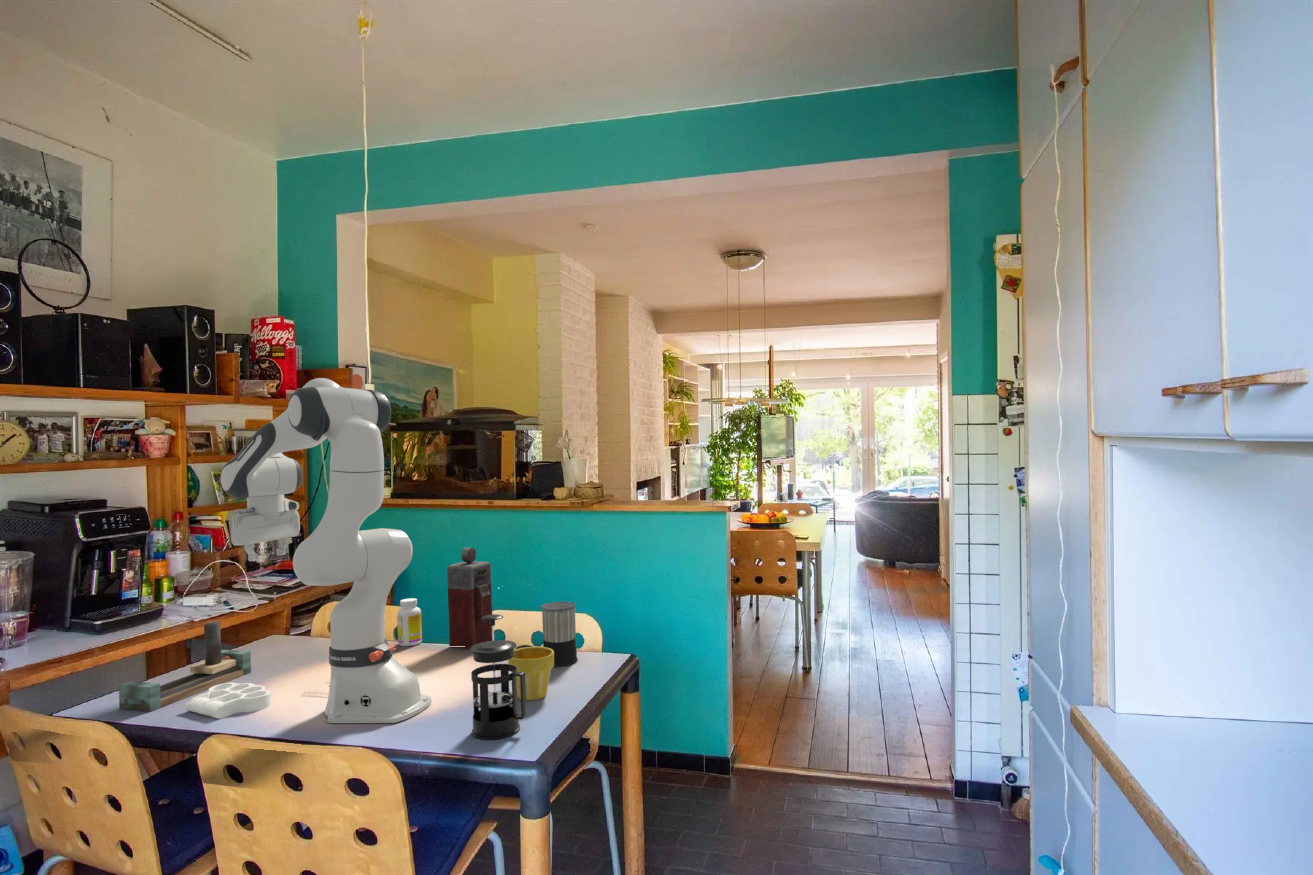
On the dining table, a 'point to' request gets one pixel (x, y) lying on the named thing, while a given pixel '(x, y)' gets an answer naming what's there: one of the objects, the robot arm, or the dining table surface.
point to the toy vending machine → (469, 601)
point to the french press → (495, 706)
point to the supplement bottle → (409, 623)
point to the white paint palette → (230, 700)
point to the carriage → (212, 652)
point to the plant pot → (533, 670)
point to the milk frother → (559, 632)
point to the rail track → (180, 685)
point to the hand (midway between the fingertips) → (267, 557)
